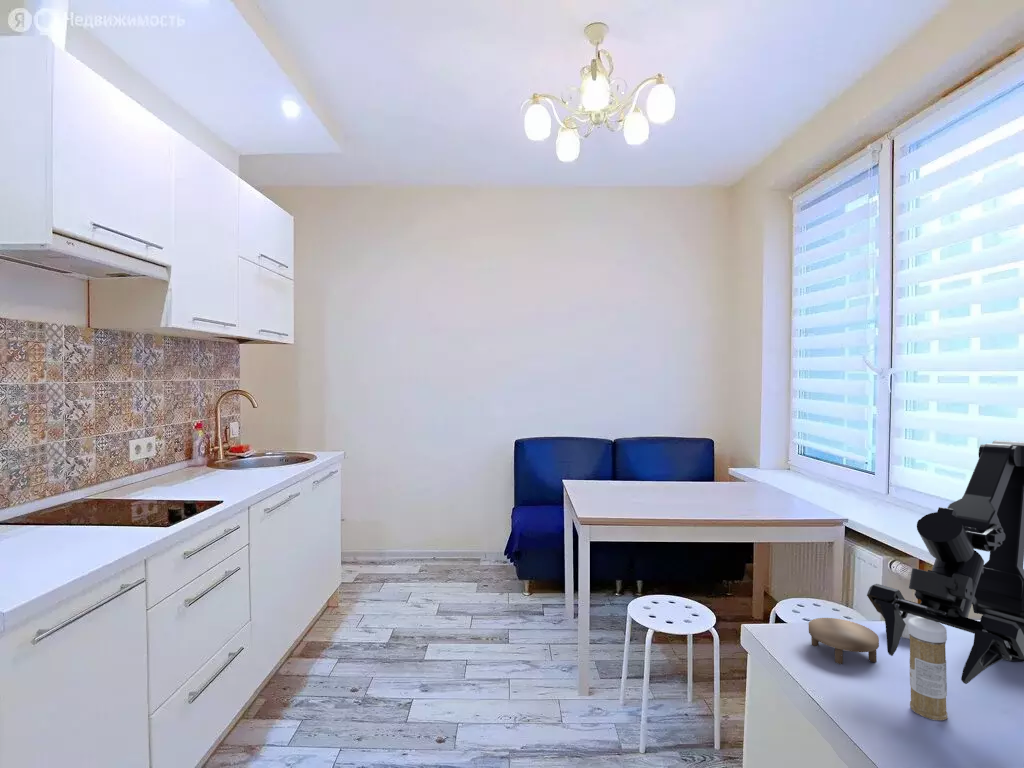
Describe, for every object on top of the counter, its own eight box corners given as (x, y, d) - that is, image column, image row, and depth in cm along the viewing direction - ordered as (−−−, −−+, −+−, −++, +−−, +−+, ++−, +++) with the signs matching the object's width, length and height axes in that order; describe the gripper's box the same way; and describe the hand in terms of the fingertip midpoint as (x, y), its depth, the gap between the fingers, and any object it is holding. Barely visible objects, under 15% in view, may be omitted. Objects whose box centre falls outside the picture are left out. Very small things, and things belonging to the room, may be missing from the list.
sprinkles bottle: (914, 699, 81) (912, 614, 81) (951, 713, 78) (949, 623, 78) (905, 711, 78) (904, 622, 79) (944, 726, 75) (942, 633, 75)
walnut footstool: (849, 636, 102) (848, 616, 102) (894, 666, 91) (894, 643, 91) (796, 639, 101) (795, 619, 101) (835, 670, 90) (835, 646, 90)
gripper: (871, 535, 89) (838, 615, 83) (1019, 566, 73) (991, 668, 67) (893, 573, 93) (863, 651, 87) (1038, 610, 77) (1014, 709, 71)
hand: (924, 667), depth 78 cm, fingers open, 9 cm apart
